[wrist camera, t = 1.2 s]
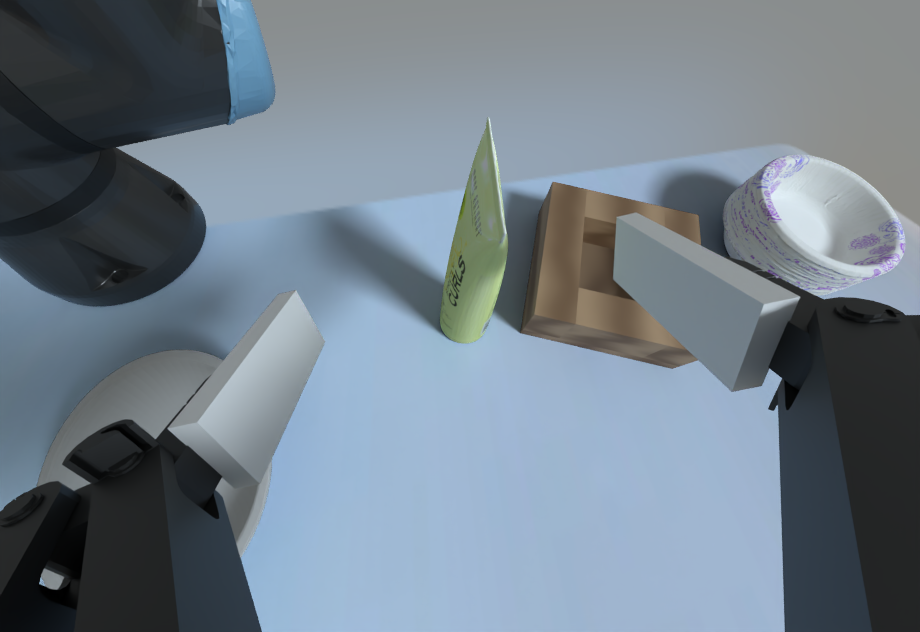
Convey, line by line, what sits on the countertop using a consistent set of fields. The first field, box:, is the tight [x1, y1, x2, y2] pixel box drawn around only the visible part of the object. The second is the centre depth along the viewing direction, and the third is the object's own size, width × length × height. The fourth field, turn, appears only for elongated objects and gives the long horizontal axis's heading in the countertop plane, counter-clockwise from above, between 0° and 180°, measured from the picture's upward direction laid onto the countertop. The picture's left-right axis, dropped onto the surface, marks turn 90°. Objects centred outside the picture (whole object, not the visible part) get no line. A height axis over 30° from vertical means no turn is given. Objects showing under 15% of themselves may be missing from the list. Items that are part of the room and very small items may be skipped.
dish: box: [37, 350, 272, 590], centre depth 24 cm, size 18×14×5 cm
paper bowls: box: [723, 155, 905, 295], centre depth 36 cm, size 15×15×8 cm
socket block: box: [520, 182, 701, 369], centre depth 34 cm, size 16×16×5 cm
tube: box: [440, 117, 508, 344], centre depth 24 cm, size 6×5×20 cm
